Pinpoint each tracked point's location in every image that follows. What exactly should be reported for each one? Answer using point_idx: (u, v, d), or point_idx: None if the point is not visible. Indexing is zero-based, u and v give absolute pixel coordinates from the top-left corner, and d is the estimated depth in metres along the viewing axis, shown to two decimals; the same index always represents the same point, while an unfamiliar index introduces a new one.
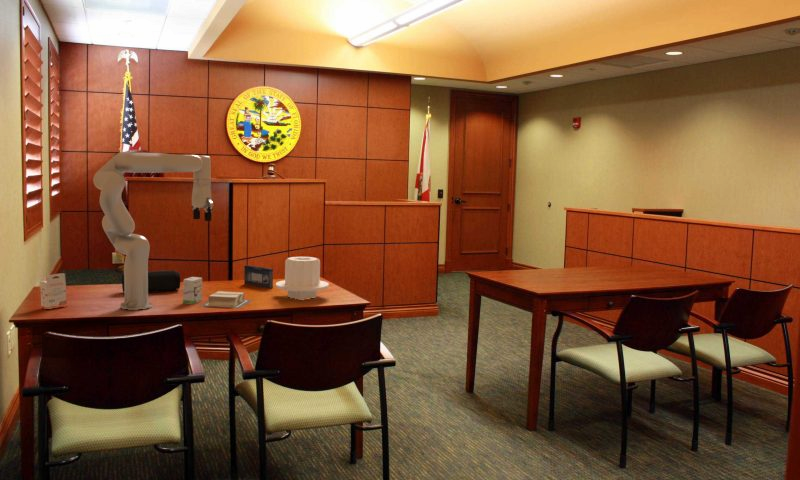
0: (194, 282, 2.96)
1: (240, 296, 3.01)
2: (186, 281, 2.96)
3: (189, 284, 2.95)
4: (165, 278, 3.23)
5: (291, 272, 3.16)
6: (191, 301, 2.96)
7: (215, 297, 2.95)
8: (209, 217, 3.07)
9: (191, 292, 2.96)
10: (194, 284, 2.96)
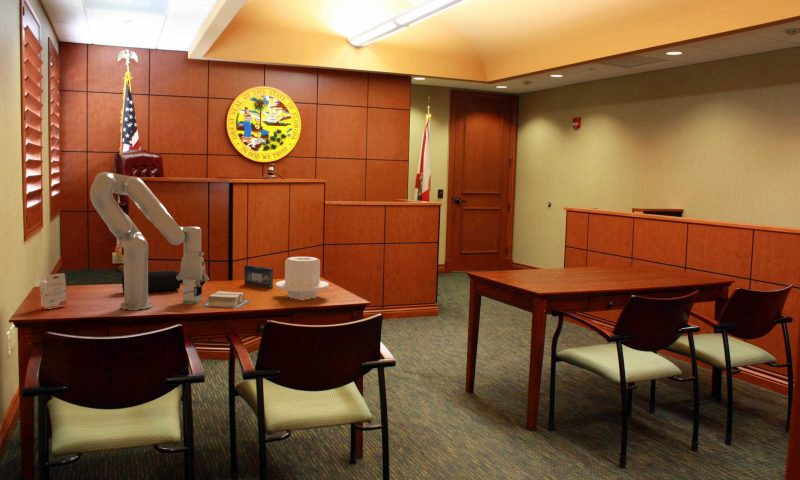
0: (194, 282, 2.96)
1: (240, 296, 3.01)
2: (186, 281, 2.96)
3: (189, 284, 2.95)
4: (165, 278, 3.23)
5: (291, 272, 3.16)
6: (191, 301, 2.96)
7: (215, 297, 2.95)
8: None
9: (191, 292, 2.96)
10: (194, 284, 2.96)
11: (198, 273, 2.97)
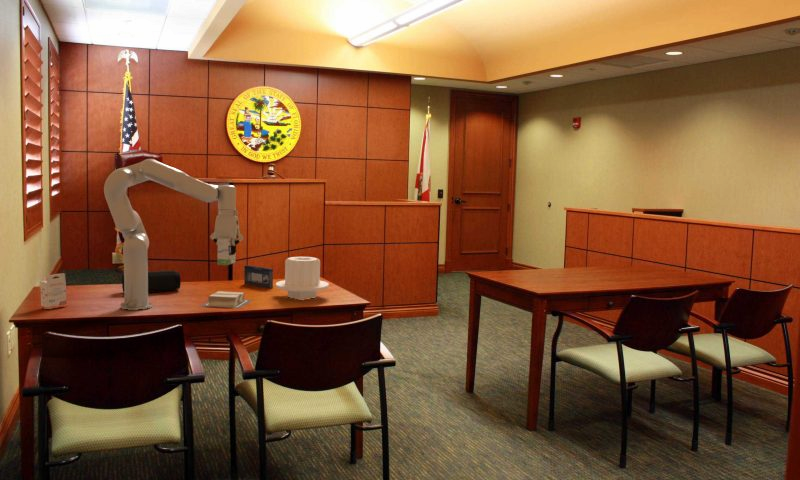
0: (228, 241, 2.95)
1: (240, 296, 3.01)
2: (220, 239, 2.94)
3: (224, 242, 2.94)
4: (165, 278, 3.23)
5: (291, 272, 3.16)
6: (226, 260, 2.94)
7: (215, 297, 2.95)
8: None
9: (226, 250, 2.94)
10: (228, 243, 2.95)
11: (233, 232, 2.95)
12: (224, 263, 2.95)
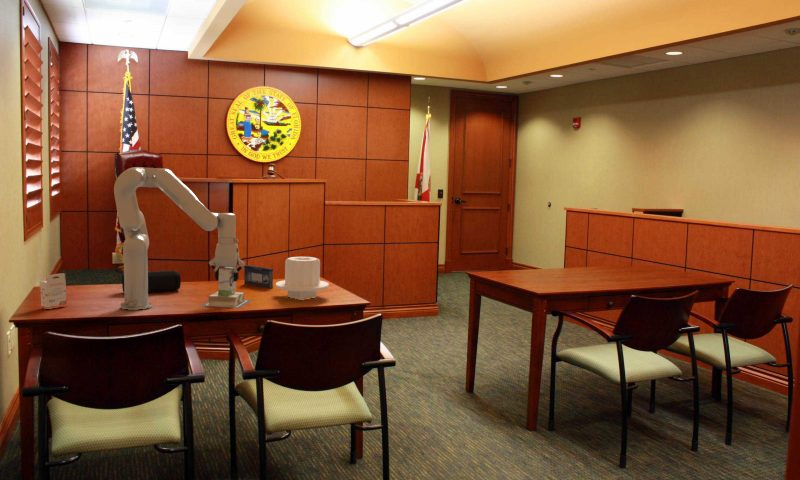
0: (230, 272, 2.96)
1: (240, 296, 3.01)
2: (222, 271, 2.95)
3: (225, 274, 2.95)
4: (165, 279, 3.23)
5: (291, 272, 3.16)
6: (227, 291, 2.96)
7: (215, 297, 2.95)
8: None
9: (227, 282, 2.96)
10: (229, 274, 2.96)
11: (233, 260, 2.96)
12: (225, 294, 2.96)
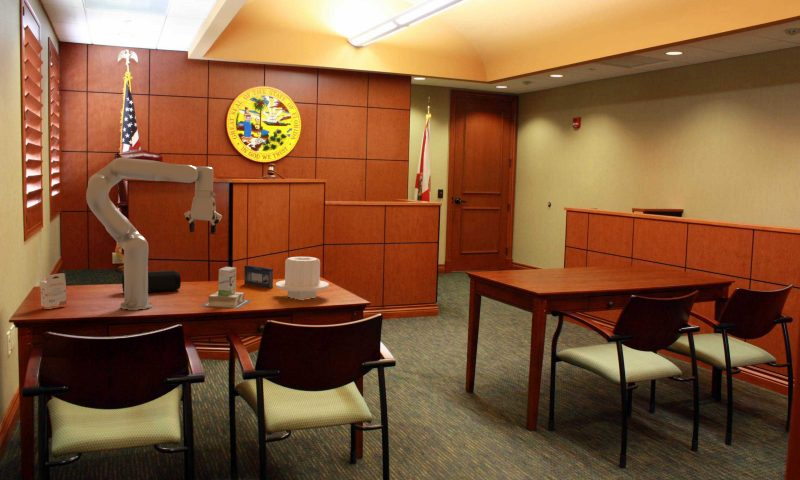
0: (229, 272, 2.96)
1: (240, 296, 3.01)
2: (222, 271, 2.95)
3: (225, 274, 2.95)
4: (165, 278, 3.23)
5: (291, 272, 3.16)
6: (227, 291, 2.96)
7: (215, 297, 2.95)
8: None
9: (227, 282, 2.96)
10: (229, 274, 2.96)
11: (208, 213, 2.97)
12: (225, 294, 2.96)
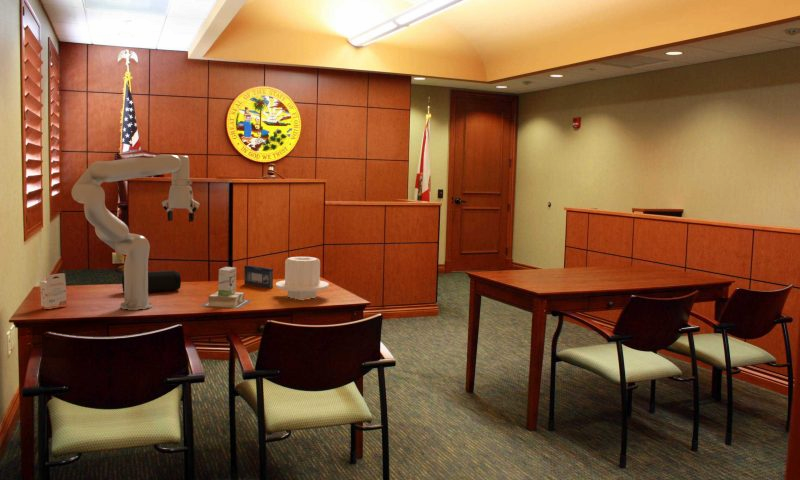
0: (229, 272, 2.96)
1: (240, 296, 3.01)
2: (222, 271, 2.95)
3: (225, 274, 2.95)
4: (165, 279, 3.23)
5: (291, 272, 3.16)
6: (227, 291, 2.96)
7: (215, 297, 2.95)
8: None
9: (227, 282, 2.96)
10: (229, 274, 2.96)
11: (186, 201, 3.00)
12: (225, 294, 2.96)
